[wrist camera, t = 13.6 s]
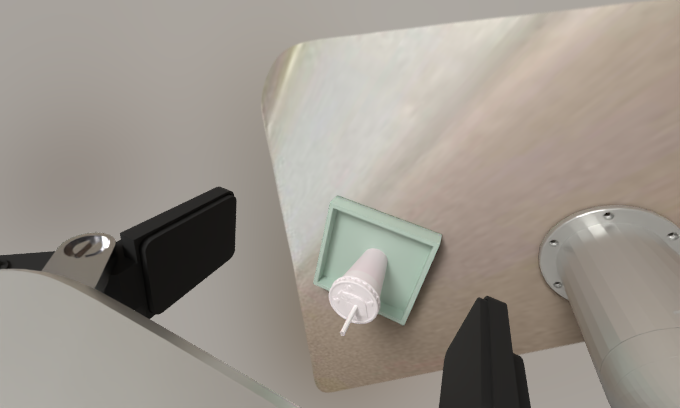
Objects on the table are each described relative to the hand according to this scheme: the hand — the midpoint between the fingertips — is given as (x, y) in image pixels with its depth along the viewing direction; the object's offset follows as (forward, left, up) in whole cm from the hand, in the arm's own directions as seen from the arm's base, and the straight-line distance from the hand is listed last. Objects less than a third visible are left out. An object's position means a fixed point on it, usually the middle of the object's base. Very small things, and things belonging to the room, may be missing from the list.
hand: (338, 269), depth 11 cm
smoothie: (+2, +20, -28) cm, 34 cm away
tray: (+2, +20, -28) cm, 35 cm away
